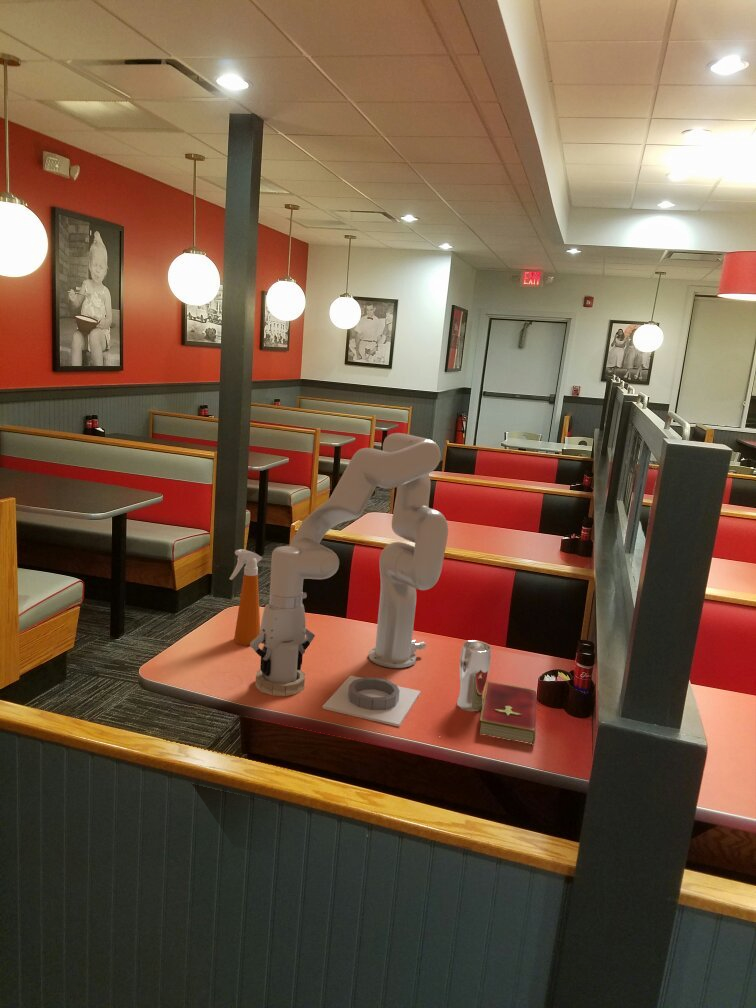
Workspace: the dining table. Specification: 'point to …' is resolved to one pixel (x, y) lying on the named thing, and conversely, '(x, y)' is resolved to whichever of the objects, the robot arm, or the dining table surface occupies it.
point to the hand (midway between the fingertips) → (281, 670)
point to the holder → (373, 700)
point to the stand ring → (280, 685)
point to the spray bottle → (247, 598)
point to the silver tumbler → (473, 674)
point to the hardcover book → (509, 712)
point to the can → (283, 663)
